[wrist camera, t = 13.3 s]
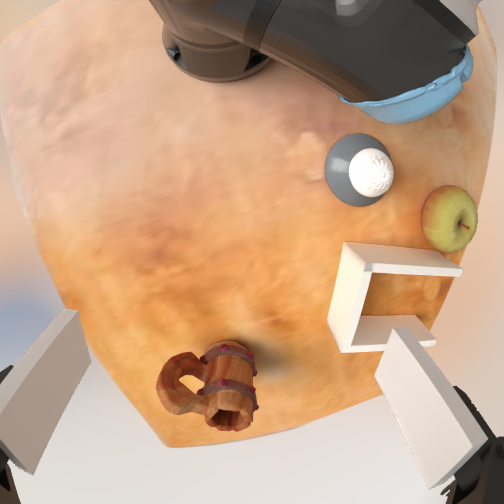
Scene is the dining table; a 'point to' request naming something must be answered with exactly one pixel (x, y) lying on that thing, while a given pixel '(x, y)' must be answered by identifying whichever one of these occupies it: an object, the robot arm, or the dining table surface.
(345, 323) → the cubby
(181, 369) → the mug
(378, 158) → the white rounded ribbed piece
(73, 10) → the dining table surface
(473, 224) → the apple
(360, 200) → the coaster
